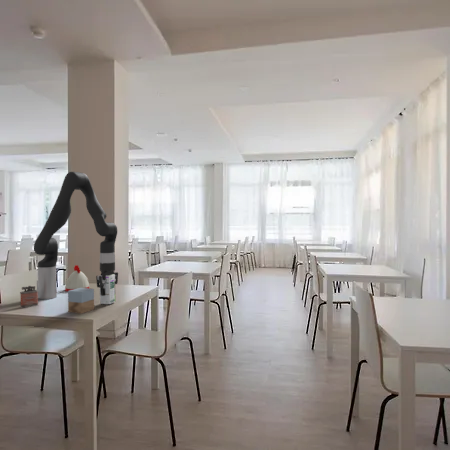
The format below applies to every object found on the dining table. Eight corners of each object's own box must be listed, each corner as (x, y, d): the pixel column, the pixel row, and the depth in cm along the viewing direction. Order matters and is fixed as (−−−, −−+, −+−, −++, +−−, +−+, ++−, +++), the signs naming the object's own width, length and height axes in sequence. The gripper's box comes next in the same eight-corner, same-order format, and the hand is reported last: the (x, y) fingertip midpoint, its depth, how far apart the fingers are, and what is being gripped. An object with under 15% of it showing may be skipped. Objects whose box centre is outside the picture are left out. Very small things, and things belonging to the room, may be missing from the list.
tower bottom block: (68, 312, 170) (68, 301, 170) (81, 308, 178) (80, 298, 178) (81, 313, 167) (81, 302, 167) (94, 309, 175) (93, 299, 175)
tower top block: (68, 301, 170) (68, 290, 170) (80, 298, 178) (80, 287, 178) (81, 302, 167) (81, 291, 167) (93, 299, 175) (93, 288, 175)
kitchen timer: (84, 286, 237) (83, 263, 237) (92, 289, 227) (92, 265, 226) (61, 289, 227) (61, 265, 227) (70, 292, 217) (69, 267, 217)
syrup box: (110, 304, 183) (109, 275, 183) (99, 303, 185) (99, 275, 184) (115, 301, 189) (115, 273, 189) (105, 301, 190) (105, 273, 190)
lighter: (36, 304, 187) (36, 284, 187) (39, 305, 185) (38, 285, 185) (19, 306, 181) (19, 286, 181) (21, 307, 179) (21, 287, 179)
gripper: (111, 259, 195) (111, 291, 195) (91, 262, 181) (91, 296, 181) (122, 260, 192) (122, 292, 192) (103, 263, 178) (103, 297, 179)
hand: (107, 294), depth 187 cm, fingers closed on syrup box, 6 cm apart
